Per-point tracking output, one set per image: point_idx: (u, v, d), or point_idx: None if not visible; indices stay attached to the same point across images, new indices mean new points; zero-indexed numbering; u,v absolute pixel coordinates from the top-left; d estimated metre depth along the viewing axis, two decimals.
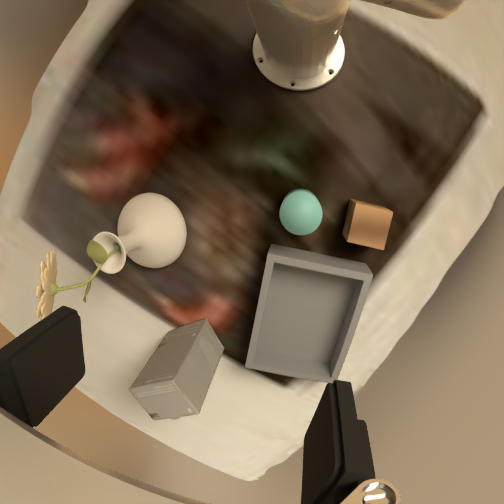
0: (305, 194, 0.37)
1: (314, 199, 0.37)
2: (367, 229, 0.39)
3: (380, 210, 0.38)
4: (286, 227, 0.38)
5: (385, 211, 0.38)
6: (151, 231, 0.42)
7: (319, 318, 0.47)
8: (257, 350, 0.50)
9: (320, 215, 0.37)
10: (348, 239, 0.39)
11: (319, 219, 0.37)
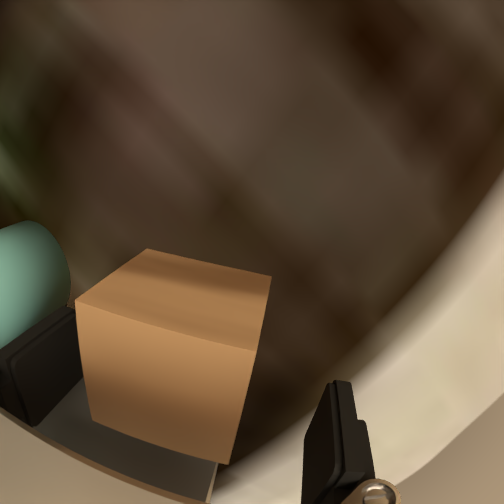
0: None
1: None
2: (144, 402, 0.09)
3: (186, 341, 0.08)
4: None
5: (213, 347, 0.08)
6: None
7: None
8: None
9: None
10: (94, 415, 0.09)
11: None
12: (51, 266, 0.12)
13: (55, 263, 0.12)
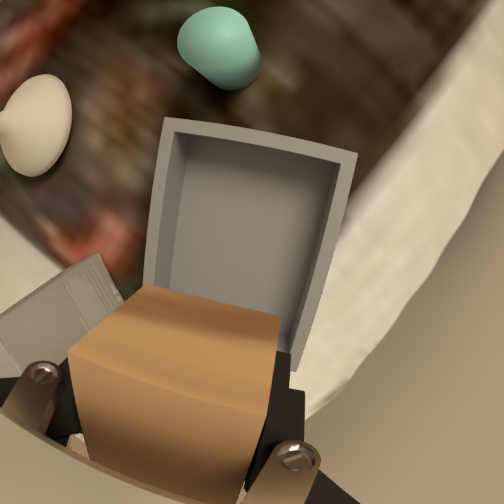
0: (221, 8, 0.17)
1: (236, 13, 0.17)
2: (145, 454, 0.07)
3: (189, 403, 0.07)
4: (187, 59, 0.18)
5: (219, 410, 0.06)
6: (21, 113, 0.22)
7: (267, 251, 0.28)
8: None
9: (246, 36, 0.18)
10: (92, 458, 0.08)
11: (244, 42, 0.18)
12: (259, 52, 0.23)
13: (259, 53, 0.23)
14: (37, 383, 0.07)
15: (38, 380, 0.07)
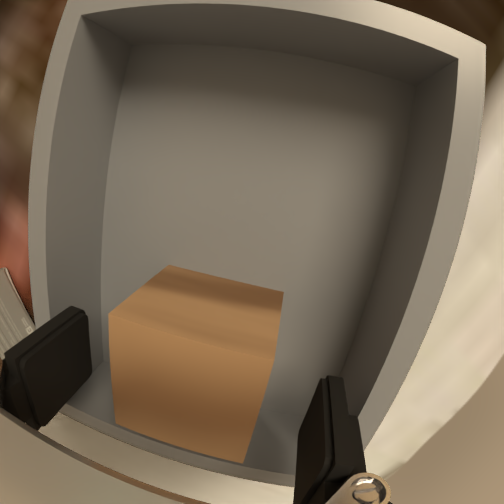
0: None
1: None
2: (169, 406, 0.10)
3: (212, 351, 0.09)
4: None
5: (236, 356, 0.09)
6: None
7: (282, 267, 0.13)
8: (105, 364, 0.15)
9: None
10: (118, 418, 0.10)
11: None
12: None
13: None
14: None
15: None
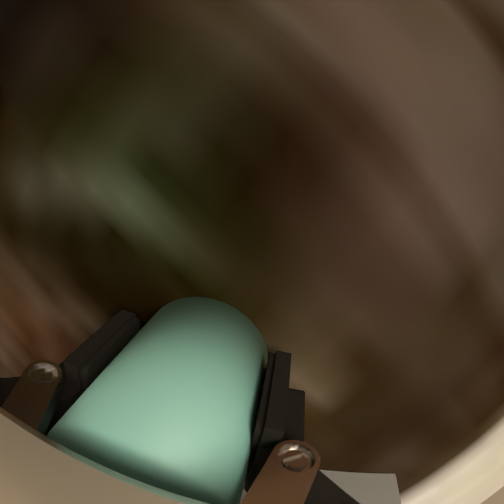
0: (129, 446, 0.05)
1: (184, 475, 0.05)
2: None
3: None
4: None
5: None
6: None
7: None
8: None
9: None
10: None
11: None
12: (262, 362, 0.11)
13: (263, 357, 0.11)
14: (37, 383, 0.07)
15: (38, 380, 0.07)
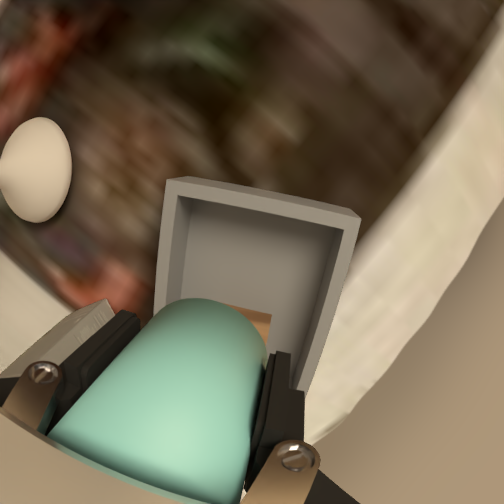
0: (128, 448, 0.05)
1: (184, 478, 0.05)
2: None
3: None
4: None
5: None
6: (20, 162, 0.23)
7: (271, 304, 0.28)
8: None
9: None
10: None
11: None
12: (262, 364, 0.11)
13: (263, 358, 0.11)
14: (37, 383, 0.07)
15: (38, 380, 0.07)
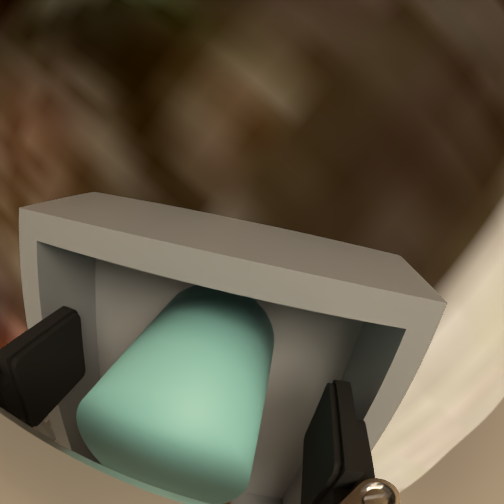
0: (161, 403, 0.06)
1: (209, 429, 0.06)
2: None
3: None
4: None
5: None
6: None
7: None
8: None
9: (241, 478, 0.07)
10: None
11: (237, 486, 0.07)
12: (270, 342, 0.12)
13: (270, 337, 0.12)
14: None
15: None
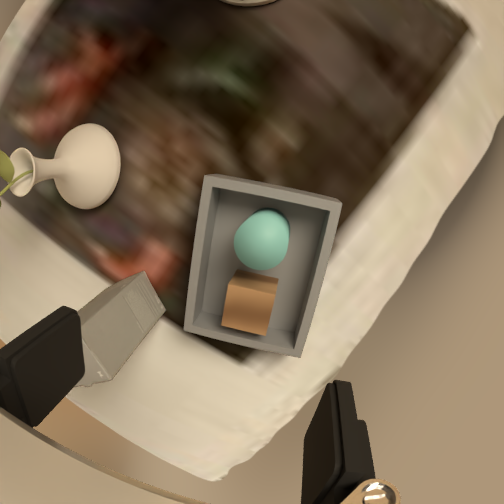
0: (266, 219, 0.29)
1: (278, 226, 0.29)
2: (243, 313, 0.34)
3: (259, 293, 0.33)
4: (242, 260, 0.31)
5: (265, 294, 0.33)
6: (79, 159, 0.33)
7: (278, 270, 0.38)
8: (203, 312, 0.40)
9: (285, 246, 0.30)
10: (222, 322, 0.35)
11: (284, 251, 0.30)
12: (289, 226, 0.35)
13: (289, 225, 0.35)
14: None
15: None
